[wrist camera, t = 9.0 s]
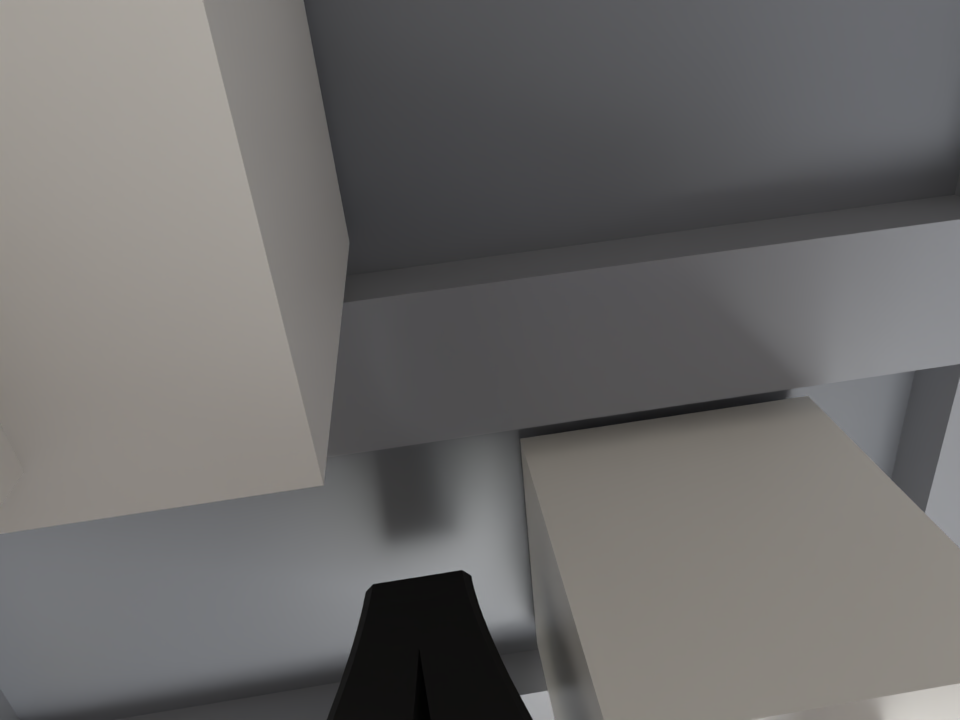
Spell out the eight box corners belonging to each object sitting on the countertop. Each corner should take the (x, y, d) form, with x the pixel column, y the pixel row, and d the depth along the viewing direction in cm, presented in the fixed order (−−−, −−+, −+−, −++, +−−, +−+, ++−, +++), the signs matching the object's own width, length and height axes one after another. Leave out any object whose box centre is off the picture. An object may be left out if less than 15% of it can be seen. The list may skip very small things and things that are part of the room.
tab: (808, 395, 10) (1163, 752, 6) (778, 603, 12) (1022, 994, 7) (519, 438, 10) (641, 848, 5) (536, 643, 12) (637, 1072, 7)
